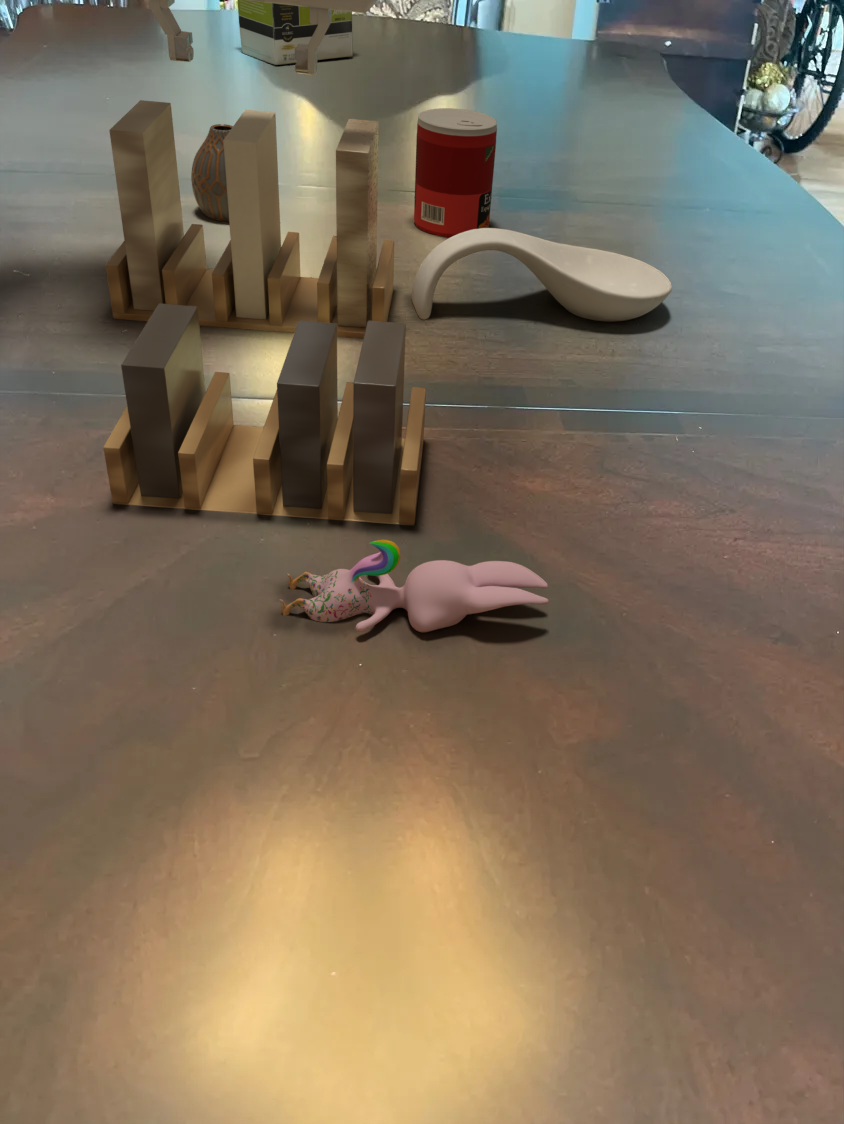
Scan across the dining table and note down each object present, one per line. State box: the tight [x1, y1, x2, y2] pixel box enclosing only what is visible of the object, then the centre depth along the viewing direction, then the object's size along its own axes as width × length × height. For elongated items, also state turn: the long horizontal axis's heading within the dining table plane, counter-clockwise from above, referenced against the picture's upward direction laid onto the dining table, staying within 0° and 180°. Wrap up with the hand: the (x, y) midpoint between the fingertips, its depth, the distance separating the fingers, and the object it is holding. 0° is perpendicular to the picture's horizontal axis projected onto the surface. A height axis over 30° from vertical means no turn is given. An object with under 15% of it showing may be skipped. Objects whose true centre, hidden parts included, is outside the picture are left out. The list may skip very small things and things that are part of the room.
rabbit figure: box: [278, 539, 549, 633], centre depth 59 cm, size 6×6×15 cm
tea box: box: [237, 0, 354, 66], centre depth 162 cm, size 15×10×15 cm, turn 133°
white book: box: [223, 109, 282, 320], centre depth 87 cm, size 2×9×14 cm, turn 179°
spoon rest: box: [410, 227, 673, 323], centre depth 94 cm, size 24×12×7 cm, turn 104°
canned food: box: [413, 107, 498, 238], centre depth 108 cm, size 8×8×11 cm
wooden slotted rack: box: [104, 99, 396, 339], centre depth 88 cm, size 22×11×15 cm, turn 89°
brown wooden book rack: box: [102, 303, 427, 526], centre depth 68 cm, size 19×11×10 cm, turn 89°
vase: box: [190, 123, 234, 222], centre depth 106 cm, size 7×7×9 cm
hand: (244, 66), depth 80 cm, fingers open, 8 cm apart
